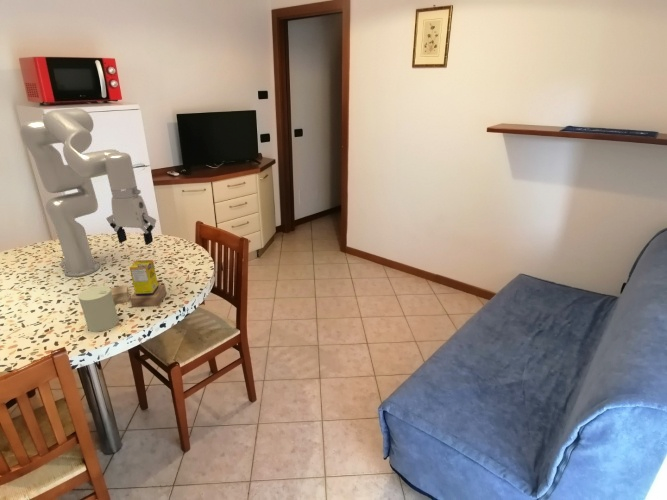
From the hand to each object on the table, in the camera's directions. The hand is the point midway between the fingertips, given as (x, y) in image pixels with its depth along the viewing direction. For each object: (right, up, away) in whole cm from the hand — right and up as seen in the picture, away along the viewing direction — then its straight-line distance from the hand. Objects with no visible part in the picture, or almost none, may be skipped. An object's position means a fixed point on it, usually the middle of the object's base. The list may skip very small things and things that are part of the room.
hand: (136, 242), depth 137 cm
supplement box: (0, -17, +7) cm, 19 cm away
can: (-8, -27, -4) cm, 28 cm away
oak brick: (-10, -20, +10) cm, 25 cm away
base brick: (+1, -21, +9) cm, 23 cm away
